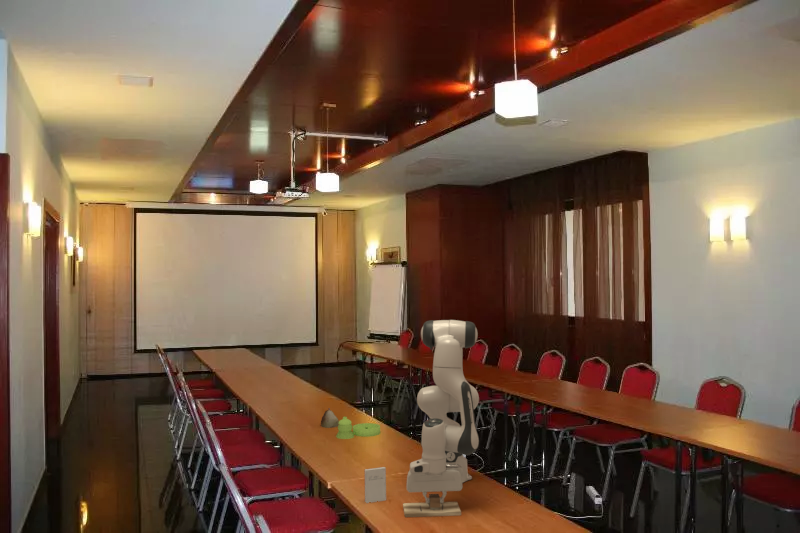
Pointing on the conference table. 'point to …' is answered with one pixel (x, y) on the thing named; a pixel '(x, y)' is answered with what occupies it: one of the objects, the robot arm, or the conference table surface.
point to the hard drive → (375, 484)
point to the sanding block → (434, 501)
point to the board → (424, 510)
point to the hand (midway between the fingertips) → (434, 503)
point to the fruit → (329, 419)
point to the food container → (356, 429)
